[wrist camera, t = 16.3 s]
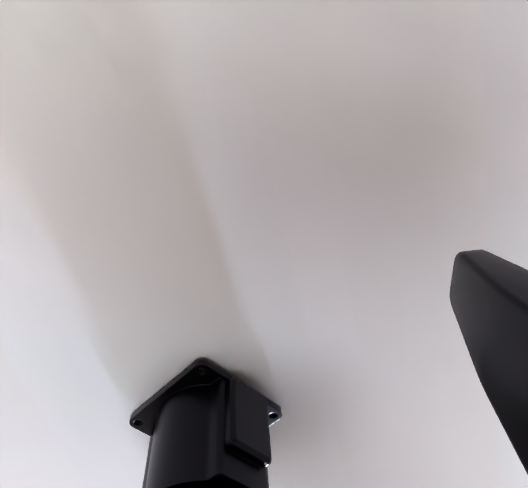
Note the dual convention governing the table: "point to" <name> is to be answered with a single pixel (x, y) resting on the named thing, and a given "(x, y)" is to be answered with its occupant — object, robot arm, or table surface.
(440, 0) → the table surface
